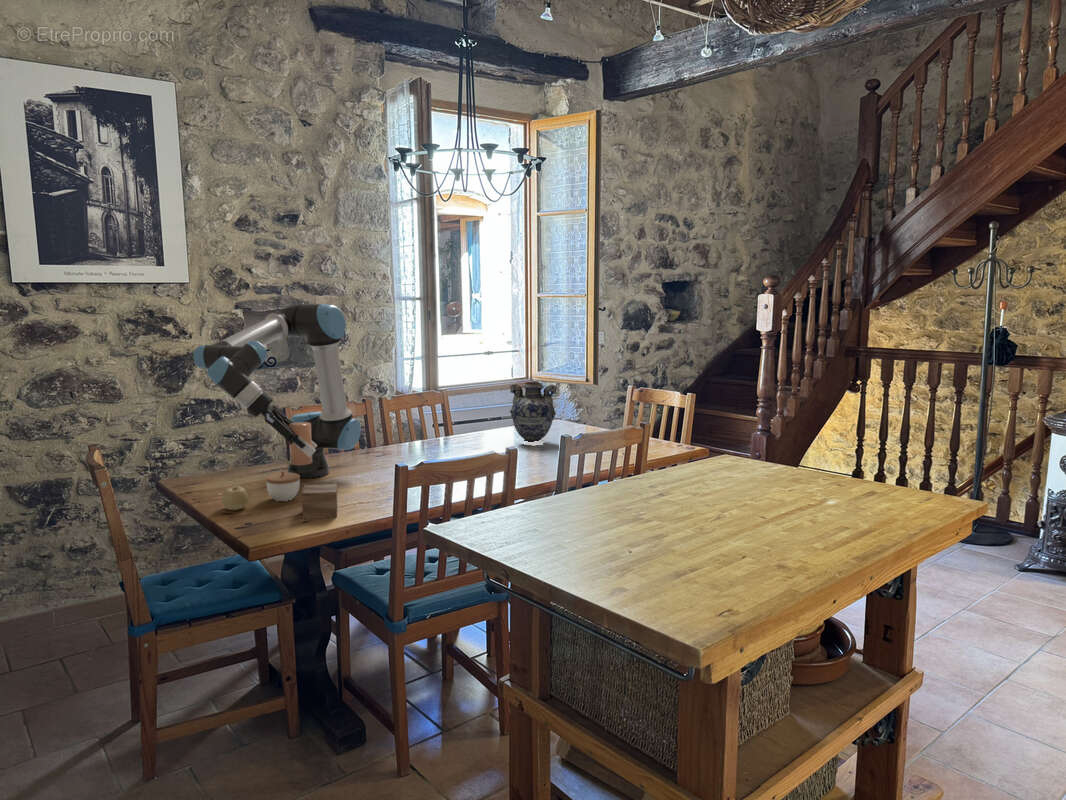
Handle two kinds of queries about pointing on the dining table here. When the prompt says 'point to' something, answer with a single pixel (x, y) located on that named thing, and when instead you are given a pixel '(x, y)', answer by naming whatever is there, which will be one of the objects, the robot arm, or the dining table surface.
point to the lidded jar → (283, 485)
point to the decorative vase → (532, 410)
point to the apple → (235, 498)
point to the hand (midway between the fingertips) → (313, 451)
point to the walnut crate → (319, 501)
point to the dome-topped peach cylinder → (295, 453)
